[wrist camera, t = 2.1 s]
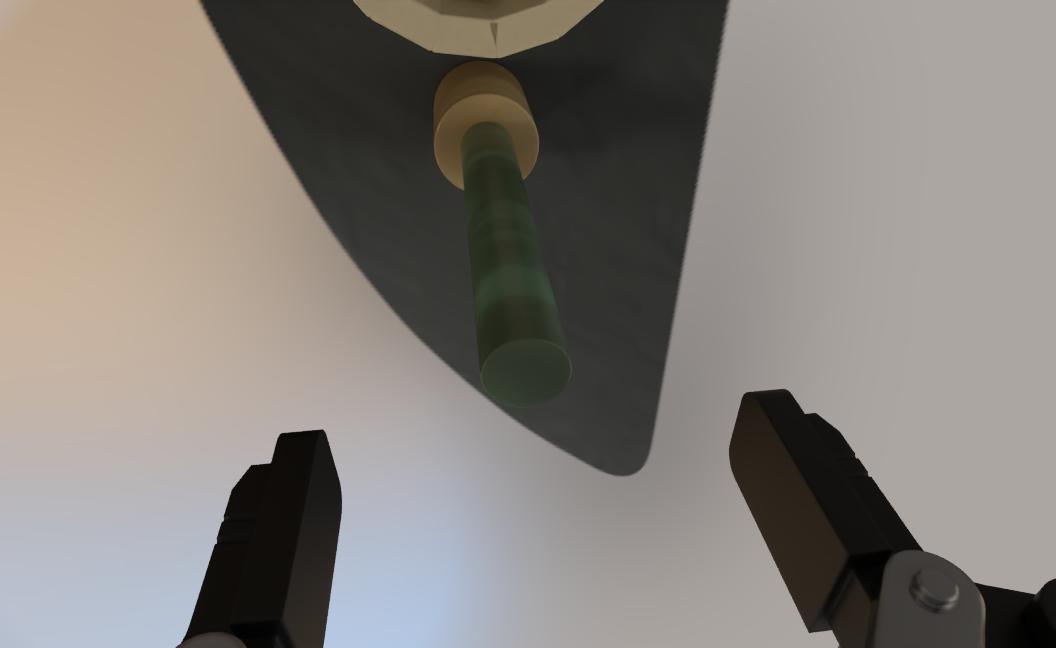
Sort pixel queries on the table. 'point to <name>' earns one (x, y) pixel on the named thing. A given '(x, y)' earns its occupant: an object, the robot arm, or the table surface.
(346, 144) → the table surface
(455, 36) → the jar
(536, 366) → the brush
